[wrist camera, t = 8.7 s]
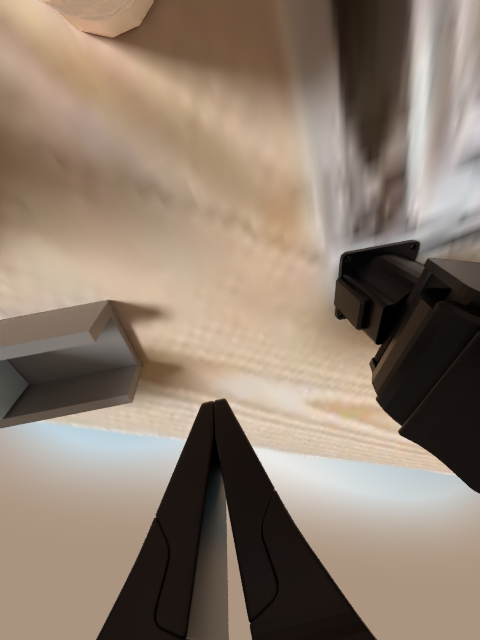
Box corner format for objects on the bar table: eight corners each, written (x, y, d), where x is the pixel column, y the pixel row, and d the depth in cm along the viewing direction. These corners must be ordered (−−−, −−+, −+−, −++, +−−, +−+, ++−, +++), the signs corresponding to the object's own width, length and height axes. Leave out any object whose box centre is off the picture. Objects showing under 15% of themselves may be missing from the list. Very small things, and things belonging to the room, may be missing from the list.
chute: (108, 300, 20) (88, 331, 16) (142, 366, 24) (132, 402, 21) (-74, 333, 19) (-135, 373, 16) (-6, 394, 24) (-43, 436, 20)
